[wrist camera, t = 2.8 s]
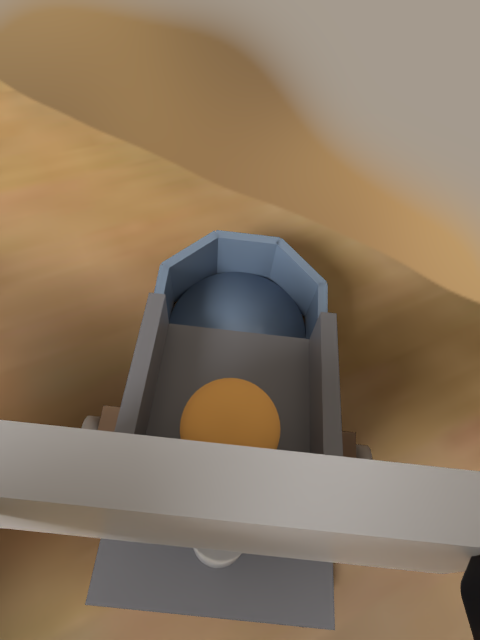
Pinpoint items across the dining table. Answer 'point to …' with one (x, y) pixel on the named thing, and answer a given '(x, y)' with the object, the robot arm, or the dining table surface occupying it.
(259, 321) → the blue bowl
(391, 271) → the dining table surface
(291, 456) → the tipper
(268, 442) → the ball
